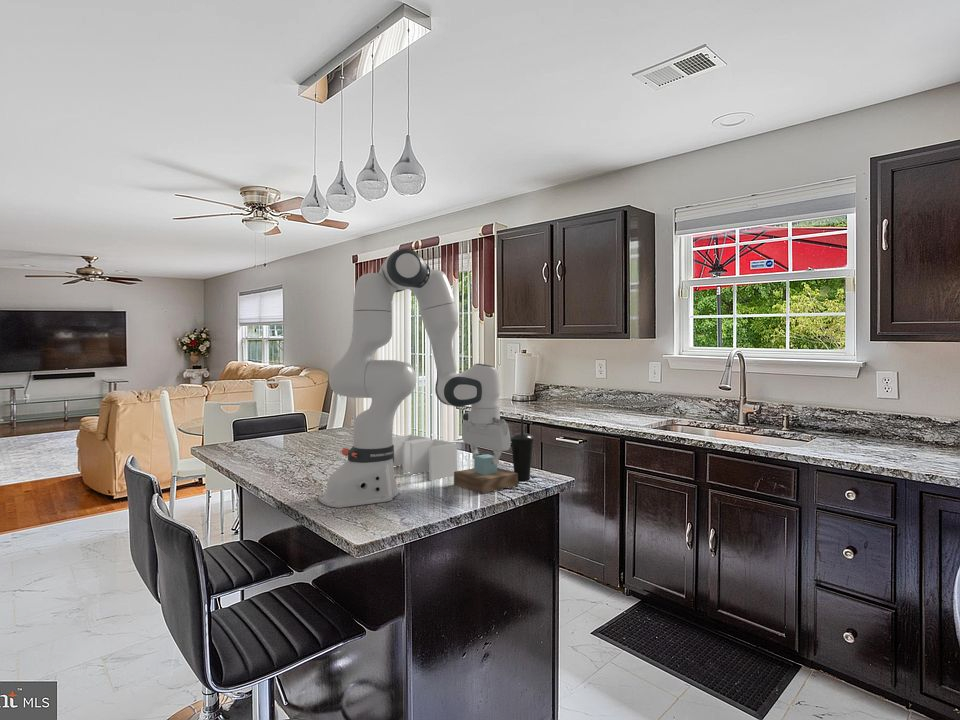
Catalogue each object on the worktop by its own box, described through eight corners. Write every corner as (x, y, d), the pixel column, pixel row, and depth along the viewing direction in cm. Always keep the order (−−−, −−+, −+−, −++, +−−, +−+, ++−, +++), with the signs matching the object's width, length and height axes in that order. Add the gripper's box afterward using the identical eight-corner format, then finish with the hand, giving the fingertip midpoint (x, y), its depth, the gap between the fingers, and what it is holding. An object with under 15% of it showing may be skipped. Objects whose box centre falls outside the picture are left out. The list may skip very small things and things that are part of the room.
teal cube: (497, 472, 170) (497, 456, 170) (484, 475, 167) (484, 458, 167) (487, 469, 174) (487, 454, 174) (474, 472, 171) (474, 456, 171)
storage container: (456, 475, 185) (456, 443, 184) (431, 481, 177) (431, 447, 177) (410, 464, 202) (410, 434, 202) (385, 469, 195) (385, 438, 194)
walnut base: (481, 493, 161) (481, 480, 161) (454, 484, 172) (454, 471, 172) (517, 486, 170) (517, 473, 170) (489, 477, 181) (489, 465, 181)
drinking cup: (535, 481, 175) (535, 418, 175) (511, 481, 175) (510, 418, 175) (532, 475, 183) (532, 415, 183) (509, 476, 183) (509, 415, 183)
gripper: (515, 419, 164) (515, 465, 164) (474, 413, 180) (474, 455, 180) (498, 420, 160) (498, 468, 160) (458, 414, 176) (458, 457, 177)
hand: (485, 461), depth 170 cm, fingers open, 8 cm apart
